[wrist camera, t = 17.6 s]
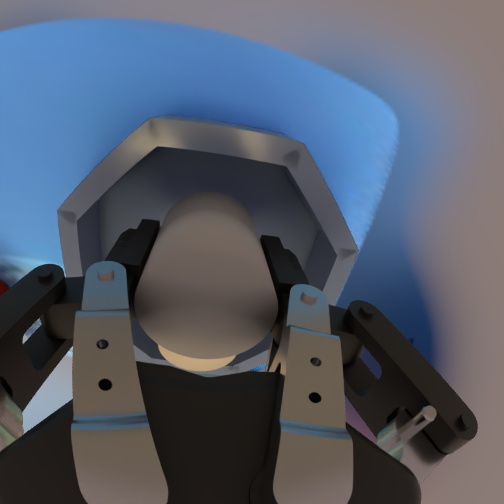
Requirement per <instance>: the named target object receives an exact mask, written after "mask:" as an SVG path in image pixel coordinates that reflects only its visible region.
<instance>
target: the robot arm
mask: <svg viewBox="0 0 504 504" xmlns="http://www.w3.org/2000/svg"><path fill="white" fill-rule="evenodd" d="M159 229H160V221H159V220H151V219H142V220H141V222H140V224H139V226H138V227H137V229H132V228H129V229H127V230H126V231H124V232H122V233H121V235H120V236H119V238H118V239H117V241H116V242H115V244H114V246H113V247H112V249H111V251H110V252H109V254H108V255H107V257H106V259H105V261H101V262H98V263H95V264H93V265H91V266H90V267H89V268H88V269H87V271H86V276H81V277H66V278H65V276H64V271H63V269H62V268H61V267H60V266H58V265H55V264H44V265H41V266H38V267H36V268H35V269H33V270H32V271H31V272H29V273H28V274H27V275H26V276H24V277H23V278H22V279H21V280H19V281H18V282H17V283H16V284H14V285H13V286H12V287H11V288H10V289H8V290H7V291H6V292H5V293H4V294H3V295H1V296H0V504H421V489H420V483H422V482H423V481H424V480H425V479H426V478H427V476H429V474H430V473H431V472H432V471H433V470H434V469H435V468H436V467H437V466H438V465H439V464H440V462H441V461H442V460H443V459H444V458H446V457H447V456H448V455H450V454H452V453H453V452H454V451H456V450H458V449H459V448H460V447H462V446H463V445H465V444H466V443H467V442H469V441H470V440H471V439H473V438H474V437H475V435H476V433H477V429H478V427H477V420H476V418H475V416H474V414H473V413H472V411H471V410H470V409H469V408H468V407H467V405H466V404H465V403H464V402H463V401H462V399H461V398H460V397H459V396H458V395H457V394H456V392H455V391H454V390H453V389H452V388H451V387H450V386H449V384H448V383H447V382H446V381H445V380H444V379H443V378H442V376H441V375H440V374H439V373H438V372H437V371H436V370H435V369H434V368H433V366H432V365H431V364H430V363H429V362H428V361H427V360H426V359H425V358H424V357H423V356H422V355H421V353H420V352H419V351H418V350H417V349H416V348H415V347H414V346H413V345H412V344H411V343H410V342H409V341H408V340H407V339H406V338H405V336H404V335H402V333H401V332H400V331H399V330H398V329H397V328H396V327H395V326H394V325H393V324H392V323H391V322H390V321H389V320H388V319H387V318H386V317H385V316H384V315H383V314H382V313H381V312H380V311H379V310H378V309H377V308H376V307H375V306H373V305H372V304H370V303H368V302H365V301H361V300H356V301H353V302H351V303H350V305H349V307H348V309H347V310H346V309H343V308H339V307H336V306H333V305H330V304H328V298H327V296H326V295H325V294H324V293H323V292H322V291H321V290H319V289H318V288H316V287H314V286H311V285H310V284H309V282H308V280H307V277H306V275H305V273H304V271H303V270H302V267H301V265H300V264H299V261H298V259H297V257H296V255H295V254H294V253H292V252H291V251H290V250H289V249H284V247H283V245H282V243H281V240H280V238H279V237H276V236H269V235H261V237H260V242H261V245H262V249H263V252H264V255H265V259H266V262H267V265H268V269H269V272H270V275H271V279H272V282H273V285H274V289H275V292H276V296H277V300H278V314H277V318H276V321H275V323H274V325H273V327H272V329H271V330H270V332H272V333H273V338H272V341H271V343H270V348H269V353H268V358H267V364H266V370H265V372H240V373H234V374H229V375H222V376H216V377H204V376H201V375H198V374H194V373H191V372H188V371H185V370H182V369H178V368H175V367H172V366H169V365H161V364H154V363H147V362H140V361H136V360H135V353H134V347H133V339H132V332H131V324H132V321H133V318H137V316H136V313H135V308H134V298H135V292H136V289H137V286H138V284H139V281H140V278H141V275H142V273H143V270H144V267H145V264H146V262H147V259H148V257H149V254H150V252H151V249H152V246H153V244H154V241H155V239H156V237H157V234H158V232H159ZM39 317H40V320H41V323H42V325H41V326H40V327H39V328H38V329H37V330H36V331H35V332H34V333H33V334H32V335H31V336H30V337H29V339H28V340H27V341H26V342H25V343H24V344H23V343H22V341H23V336H24V334H25V332H26V331H27V330H28V329H29V328H30V327H31V325H32V324H33V323H34V322H35V321H36V320H37V319H38V318H39ZM72 346H73V364H72V365H73V366H72V385H73V399H72V400H70V401H69V402H68V403H66V404H65V405H64V406H62V407H61V408H59V409H58V410H57V411H55V412H54V413H52V414H51V415H50V416H48V417H47V418H45V419H44V420H43V421H41V422H40V423H39V424H37V425H36V426H34V427H33V428H32V429H30V430H29V431H27V432H26V433H25V434H23V433H24V430H23V426H22V425H23V417H22V412H23V410H24V409H25V408H26V406H27V405H28V403H29V402H30V401H31V399H32V398H33V396H34V395H35V394H36V392H37V391H38V390H39V388H40V387H41V385H42V384H43V383H44V381H45V380H46V379H47V377H48V376H49V375H50V374H51V372H52V371H53V370H54V368H55V367H56V366H57V365H58V363H59V362H60V361H61V360H62V358H63V357H64V356H65V355H66V353H67V352H68V351H69V350H70V348H71V347H72ZM365 348H366V349H367V350H368V351H369V352H370V353H371V355H372V356H373V357H374V358H375V359H376V361H377V362H378V363H379V364H380V366H381V369H382V374H381V377H380V378H379V379H377V378H376V377H375V375H374V374H373V373H372V372H371V371H370V369H369V368H368V367H367V366H366V364H365V363H364V362H363V361H362V360H361V358H360V355H361V354H362V352H363V351H364V350H365ZM344 395H345V396H346V397H347V398H348V400H349V401H350V403H351V404H352V405H353V407H354V408H355V410H356V411H357V412H358V414H359V415H360V416H361V418H362V419H363V420H364V422H365V423H366V425H367V426H368V427H369V429H370V430H371V431H372V432H373V434H374V436H375V437H376V438H377V445H376V444H374V443H373V442H372V441H370V440H369V439H368V438H366V437H365V436H364V435H362V434H361V433H360V432H358V431H357V430H356V429H354V428H353V427H352V426H351V425H349V424H348V423H347V422H345V398H344Z"/></svg>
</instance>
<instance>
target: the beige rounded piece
mask: <svg viewBox="0 0 504 504" xmlns="http://www.w3.org/2000/svg"><path fill="white" fill-rule="evenodd" d="M134 308H135V313H136V316H137V319H138V322H139V323H140V325H141V327H142V328H143V330H144V331H145V333H146V334H147V335H148V336H149V337H150V338H151V339H152V340H153V341H155V342H156V343H157V344H159V345H160V346H162V347H163V348H165V349H167V350H169V351H171V352H173V353H176V354H179V355H182V356H186V357H190V358H196V359H220V358H226V357H231V356H234V355H237V354H240V353H242V352H245V351H247V350H249V349H250V348H252V347H254V346H255V345H257V344H258V343H259V342H261V341H262V340H263V339H264V338H265V337H266V336H267V334H268V333H269V332H270V330H271V329H272V327H273V325H274V323H275V321H276V318H277V314H278V300H277V296H276V292H275V289H274V285H273V282H272V279H271V275H270V272H269V269H268V265H267V262H266V259H265V255H264V252H263V249H262V245H261V242H260V239H259V235H258V232H257V229H256V225H255V222H254V220H253V218H252V216H251V214H250V213H249V211H248V210H247V209H246V208H245V206H243V205H242V204H241V203H240V202H239V201H237V200H236V199H234V198H232V197H230V196H228V195H225V194H222V193H217V192H200V193H195V194H192V195H189V196H187V197H184V198H183V199H181V200H179V201H178V202H177V203H176V204H174V205H173V206H172V207H171V209H170V210H169V211H168V212H167V214H166V216H165V218H164V220H163V222H162V225H161V227H160V229H159V232H158V234H157V237H156V239H155V241H154V244H153V246H152V249H151V252H150V254H149V257H148V259H147V262H146V264H145V267H144V270H143V273H142V275H141V278H140V281H139V284H138V286H137V289H136V292H135V298H134Z"/></svg>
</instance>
